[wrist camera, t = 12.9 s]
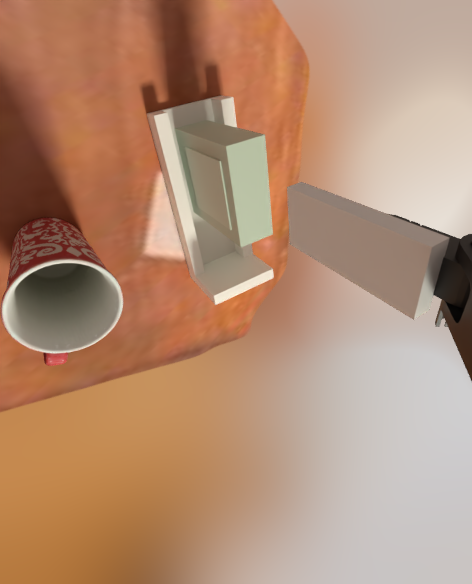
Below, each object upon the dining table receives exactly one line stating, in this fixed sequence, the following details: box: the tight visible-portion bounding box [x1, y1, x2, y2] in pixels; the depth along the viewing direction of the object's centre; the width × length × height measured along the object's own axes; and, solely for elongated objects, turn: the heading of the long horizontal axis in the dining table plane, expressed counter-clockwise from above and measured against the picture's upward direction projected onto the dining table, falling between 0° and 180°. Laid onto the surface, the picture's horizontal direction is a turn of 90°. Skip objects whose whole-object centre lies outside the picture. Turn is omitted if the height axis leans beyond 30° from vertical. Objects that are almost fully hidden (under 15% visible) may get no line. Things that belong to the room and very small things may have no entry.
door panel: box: [175, 120, 273, 247], centre depth 37 cm, size 10×4×12 cm, turn 9°
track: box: [147, 95, 274, 305], centre depth 41 cm, size 22×9×8 cm, turn 9°
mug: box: [1, 218, 123, 365], centre depth 33 cm, size 13×9×14 cm
